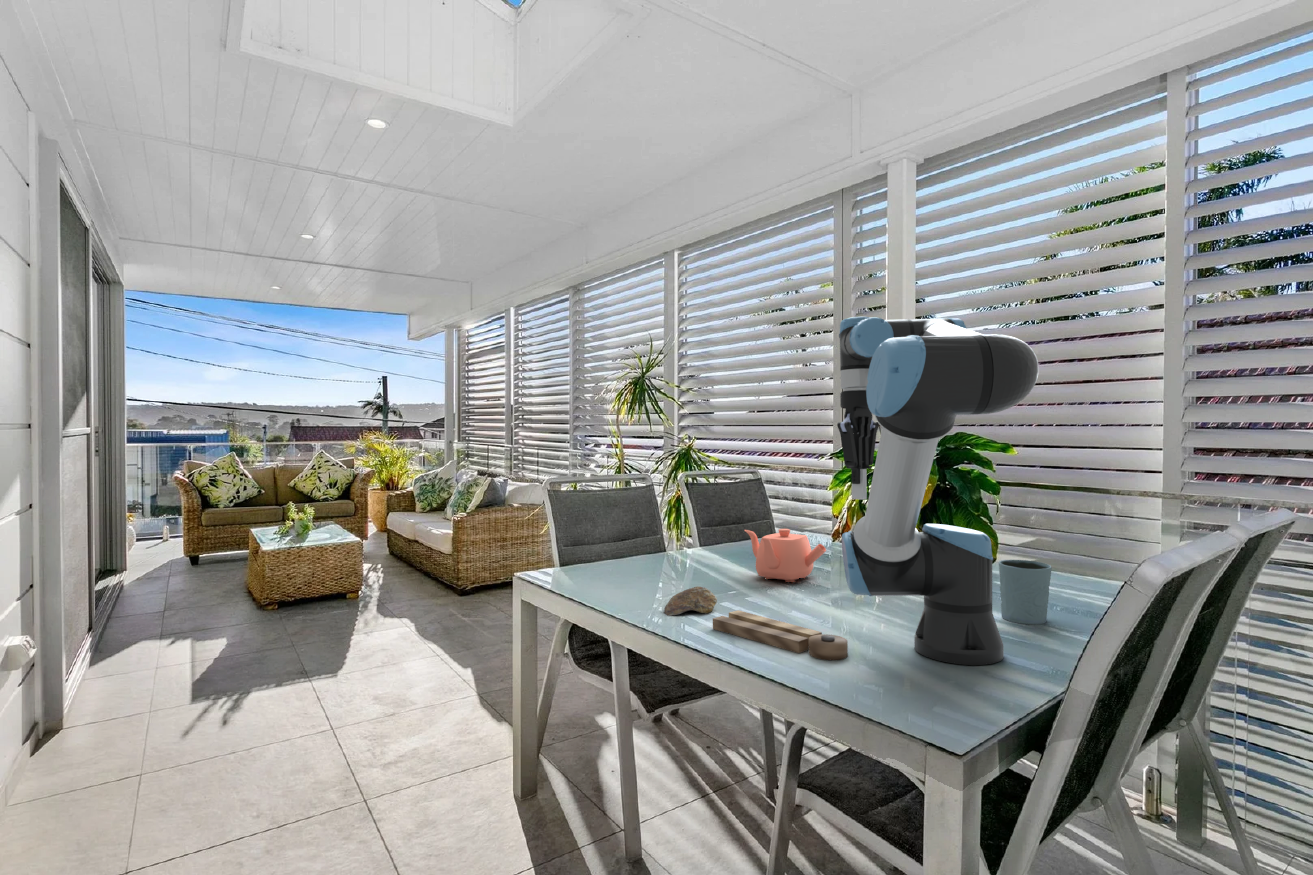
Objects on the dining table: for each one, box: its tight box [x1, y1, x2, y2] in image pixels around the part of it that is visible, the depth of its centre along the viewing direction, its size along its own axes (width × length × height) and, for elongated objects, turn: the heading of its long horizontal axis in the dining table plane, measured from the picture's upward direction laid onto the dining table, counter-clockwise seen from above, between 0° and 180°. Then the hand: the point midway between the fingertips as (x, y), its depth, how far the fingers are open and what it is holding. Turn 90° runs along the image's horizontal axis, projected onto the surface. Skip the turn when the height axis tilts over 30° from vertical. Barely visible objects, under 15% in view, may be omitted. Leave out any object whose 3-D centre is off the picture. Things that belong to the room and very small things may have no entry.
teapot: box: [744, 528, 827, 583], centre depth 192 cm, size 18×18×14 cm
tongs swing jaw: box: [728, 610, 823, 647], centre depth 140 cm, size 22×3×2 cm, turn 40°
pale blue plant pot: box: [998, 559, 1052, 625], centre depth 149 cm, size 10×10×12 cm
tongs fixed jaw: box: [712, 615, 849, 661], centre depth 136 cm, size 30×7×3 cm, turn 42°
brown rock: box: [663, 586, 718, 617], centre depth 160 cm, size 10×12×5 cm
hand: (859, 498), depth 149 cm, fingers closed
